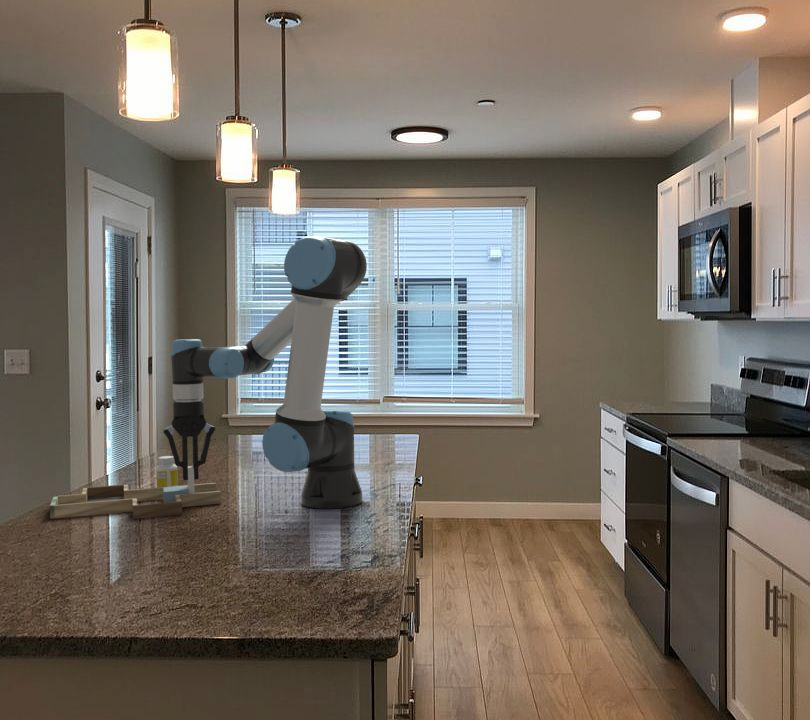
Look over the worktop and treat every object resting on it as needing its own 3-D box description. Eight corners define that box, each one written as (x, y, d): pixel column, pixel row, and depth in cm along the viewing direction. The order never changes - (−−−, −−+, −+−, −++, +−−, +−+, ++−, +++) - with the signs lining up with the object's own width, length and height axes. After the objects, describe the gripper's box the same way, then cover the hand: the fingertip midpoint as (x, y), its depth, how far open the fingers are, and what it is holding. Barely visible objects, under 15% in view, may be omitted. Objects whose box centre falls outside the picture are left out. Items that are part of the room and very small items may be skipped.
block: (189, 503, 208) (188, 489, 208) (164, 505, 206) (164, 492, 206) (187, 498, 214) (187, 485, 213) (163, 501, 212) (163, 487, 212)
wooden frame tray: (224, 510, 200) (224, 498, 200) (47, 526, 187) (46, 513, 187) (213, 488, 226) (212, 477, 226) (56, 501, 214) (56, 489, 214)
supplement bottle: (177, 490, 224) (176, 454, 224) (179, 494, 219) (178, 457, 218) (156, 492, 222) (155, 456, 222) (158, 496, 217) (156, 459, 217)
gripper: (213, 397, 215) (215, 487, 217) (161, 399, 211) (164, 491, 213) (216, 400, 208) (218, 493, 210) (162, 402, 204) (165, 497, 206)
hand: (191, 492), depth 211 cm, fingers closed
